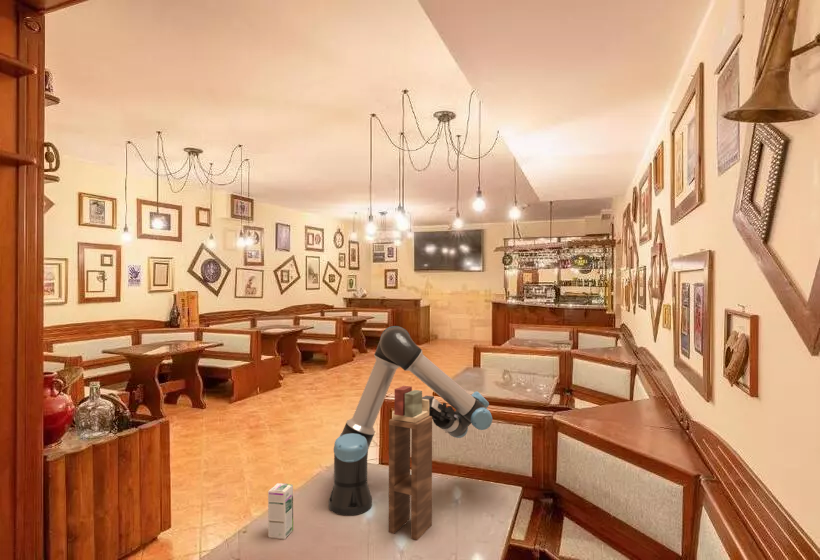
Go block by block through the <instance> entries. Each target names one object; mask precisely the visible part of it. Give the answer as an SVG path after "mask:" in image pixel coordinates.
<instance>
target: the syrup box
mask: <svg viewBox="0 0 820 560" xmlns="http://www.w3.org/2000/svg"><path fill="white" fill-rule="evenodd" d="M267 514H268V516H267V517H268V518H267V520H268V521H267V525H268V526H267V529H268V531H267V536H268V538H270V539H271V538H272V539H278V540H286V539H287V537H288V536H289V535H290V534H291V533H292V532H293V531H294V484H292V483H291V484H290V483H286V482H285V483H282V482H280V483H279V482H277V483H276V484H275V485H274V486H272V487H271V488H270V489H269V490H268V491H267Z"/></svg>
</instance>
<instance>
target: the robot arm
mask: <svg viewBox="0 0 820 560" xmlns="http://www.w3.org/2000/svg"><path fill="white" fill-rule="evenodd" d="M373 356H374V358H375V362H374V365H373V367H372V369H371V372H370V374H369V376H368V379H367V382H366V384H365V386H364V389H363V392H362V394H361V396H360V399H359V401H358V404H357V405H356V408H355V411H354V413H353V416H352V418H350V419H348V420H346V422H345V425H344V427H343V429H342V431H341V433H340V434H339V436H338V437H337V438H336V439H335V441H334V446H333V456H334V457H333V460H334V461H333V462H334V463H333V487H332V488H331V493H330V495H329V498H328V509H329V511H330V512H332V513H334V514H336V515H338V516H339V515H340V516H356V515H360V514H363V513H366V512H368V511H369V510H370V509H371V508H372V507H373V496H372V494H371V490H370V487H369V484H368V455H369V449H370V445H372V441H373V438H374V436H375V433H376V431H375V428H374V425H375V423H376V420H377V418H378V415H379V413H380V410H381V409H382V406H383V403H384V401H385V398H386V396H387V394H388V392H389V389H390V386H391V383H392V382H393V379H394V376H395V374H396V371H397V370H398V369H399V368H401V369H402V370H403V371H404V372H408V371H409V372H410V373H411V374H413V375H414V376H415V377H416V378H418V379H419V380H420V381H421V382H422V383H424V384H425V385H426V387H428V388H429V389H431V390H432V392H434V393H435V394H436V395H438V396H439V397H440V398H441V399H442V400H444V401H445V402H443V403H441V402H440V401H438V399H436V398H434V399H433V401H432V406H431V407H430V408H429V416H432V423H433V424H434V425H435V426H436V427H438V428H440V429H441V430H442V431H444V433H445V434H449V436H451V437H454V438H456V439H461V438H464V437H465V436H466V435H467V433H468V431H469V427H470V425H471V426H473V428H475V429H477V430H480V431H484V430H487V429H489V428H490V427H491V425H492V424H493V416H492V413H491V411H490V410H489V409H488V407H490V406H489V405H490V403H489V401H488V400H487V399H486V398H485V397H484V396H483V395H482V394H481V393H480V392H479V391H478V390H477V391H474V392H473V393H472V394H470V393H469V392H468V391H467V390H465V388H463V387H462V386H461V385H460V384H459V383H457V382H456V381H455V380H453V379H452V377H450V376H449V375H448V374H447V373H446V372H444V370H442V369H441V368H440V367H438V366H437V365H436V364H435V363H434V362H432V360H430V359H429V358H428V357H427V356H425V355H424V353H423V349H422V348H421V347H420V346H418V345H417V344H416V342H414V341H413V339H412V337H411V335H410V333H409V332H408V330H406V328H403V327H401V326H398V325H393V326H389V327H387V328H385V329H384V330H383V332H382V333H381V335H380V338H379V342H378V344H377V347H376V349H375V351H374V355H373ZM448 404H449V405H448ZM447 405H448V406H447ZM454 409H455V410H454Z"/></svg>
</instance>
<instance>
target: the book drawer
mask: <svg viewBox="0 0 820 560" xmlns="http://www.w3.org/2000/svg"><path fill="white" fill-rule="evenodd" d="M433 399H435V396H434V395H425V396H423V390H419V389H413V386H407V385H402V386H400V387H397V388H394V402H393V403H394V410H393V411H394V413H393V414H392V418H393V420H399V421H406V422H412V423H416V422H418V421H420V420H422V419H423V418H425V417H427V416H429V408H430V407H431V406H432V401H433Z"/></svg>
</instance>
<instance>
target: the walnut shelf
mask: <svg viewBox="0 0 820 560" xmlns="http://www.w3.org/2000/svg"><path fill="white" fill-rule="evenodd" d="M409 521H410V529H411V530H410V539H411V540H413V541H418V540H419V539H420V538H421V537H422V536H423V535H424V534H425V533H426V532H427V531H428V530H429V529H430V528H431V527H432V526H433V419H432V416H427V417H425V418H423V419H422V420H420V421H418V422H416V423H412V422H406V421H399V420H393V417H392V418H390V419H389V420H388V533H389V534H393V535H394V534H396V533H397V532H398V531H399V530H400V529H401V528H402V527H403V526H405V525H406V524H407V523H408V522H409ZM405 523H406V524H405Z"/></svg>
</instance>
